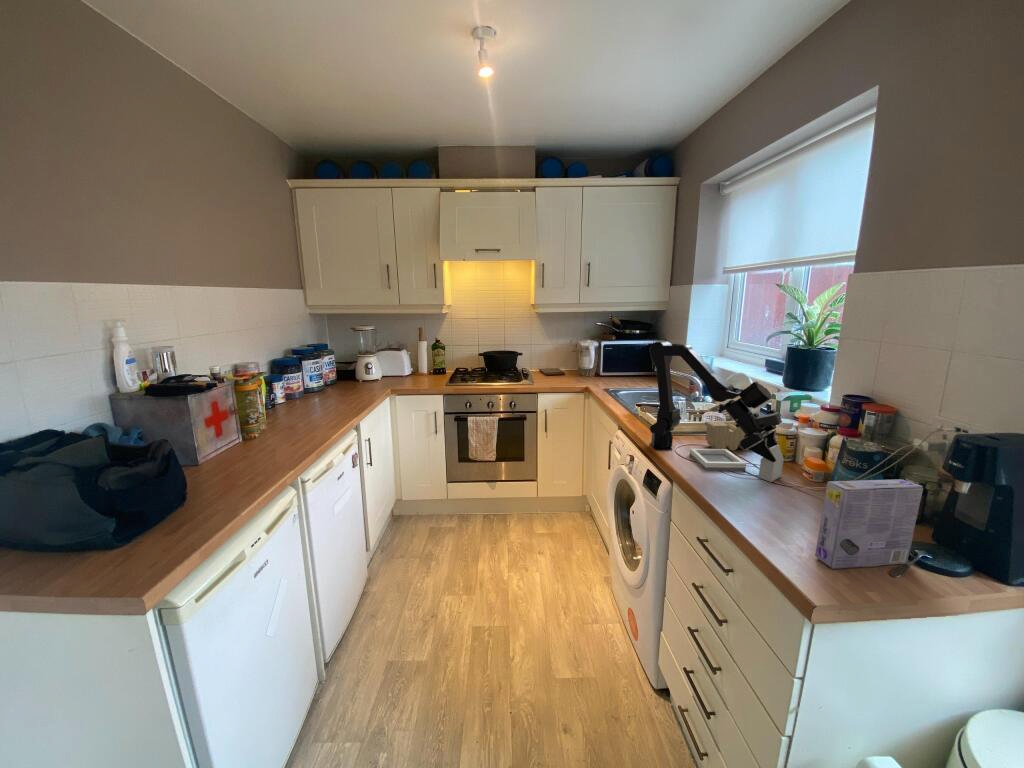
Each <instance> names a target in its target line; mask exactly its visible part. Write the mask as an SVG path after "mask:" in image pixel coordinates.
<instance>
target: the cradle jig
mask: <svg viewBox="0 0 1024 768" xmlns="http://www.w3.org/2000/svg"><path fill="white" fill-rule="evenodd" d="M688 455H689V456H690V457H691V458H692V459H693V461H695V462H696V463H697V465H699V466H701V468H702V469H704V471H730V470H731V471H732V470H733V471H734V472H735V471H737V472H738V471H744V472H745V471H746V468H747V463H746V462H745V461H744V460H742V459H741V458H739V457H738V456H737V455H736V454H734V453H732V452H731V450H729V449H728V448H726V449H714V448H690V449H689V454H688Z"/></svg>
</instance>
